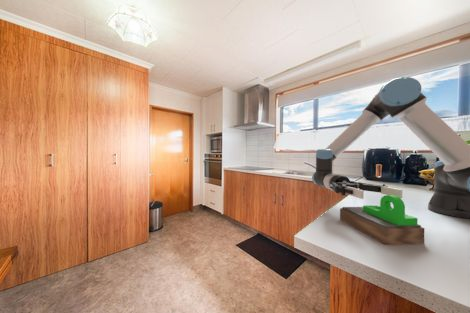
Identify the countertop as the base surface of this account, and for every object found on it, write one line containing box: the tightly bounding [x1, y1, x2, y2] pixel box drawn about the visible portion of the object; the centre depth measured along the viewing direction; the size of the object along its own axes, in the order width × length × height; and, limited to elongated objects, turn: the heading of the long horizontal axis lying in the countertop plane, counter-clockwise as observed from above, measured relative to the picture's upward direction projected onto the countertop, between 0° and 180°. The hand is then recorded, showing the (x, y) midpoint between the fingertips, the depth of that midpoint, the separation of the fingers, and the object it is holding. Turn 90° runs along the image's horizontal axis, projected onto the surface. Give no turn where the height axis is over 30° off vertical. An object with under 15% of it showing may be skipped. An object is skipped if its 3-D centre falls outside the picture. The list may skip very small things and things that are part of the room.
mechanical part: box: [362, 194, 419, 225], centre depth 53 cm, size 12×6×8 cm, turn 3°
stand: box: [339, 206, 425, 246], centre depth 55 cm, size 12×18×5 cm, turn 4°
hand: (382, 194), depth 53 cm, fingers open, 13 cm apart
